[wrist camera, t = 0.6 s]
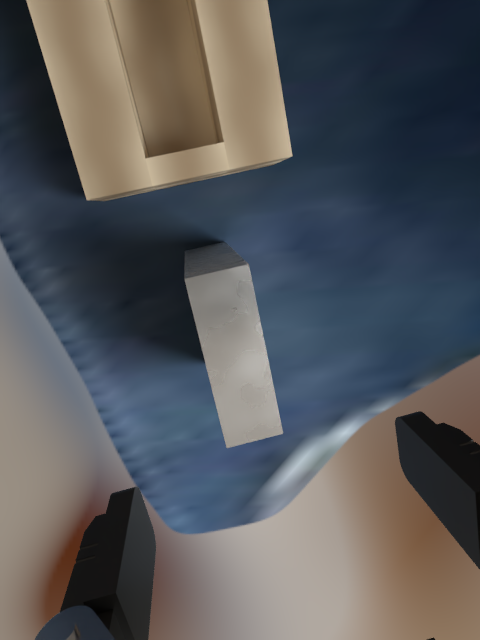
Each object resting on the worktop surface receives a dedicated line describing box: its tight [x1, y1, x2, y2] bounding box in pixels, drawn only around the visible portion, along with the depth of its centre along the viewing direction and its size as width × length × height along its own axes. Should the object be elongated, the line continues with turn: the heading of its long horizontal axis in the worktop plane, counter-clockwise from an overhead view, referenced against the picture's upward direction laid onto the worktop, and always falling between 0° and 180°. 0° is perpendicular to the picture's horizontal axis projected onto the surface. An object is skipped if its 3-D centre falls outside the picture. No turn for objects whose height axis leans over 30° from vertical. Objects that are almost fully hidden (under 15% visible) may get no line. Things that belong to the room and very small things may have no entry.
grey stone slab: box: [184, 242, 283, 448], centre depth 26 cm, size 3×9×12 cm, turn 12°
